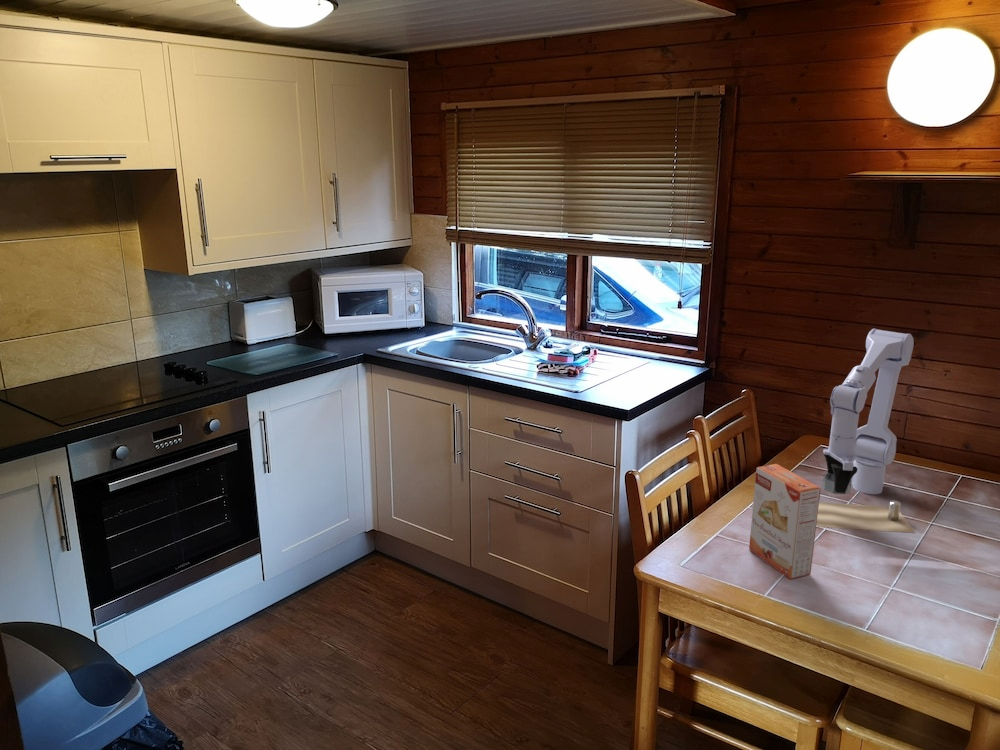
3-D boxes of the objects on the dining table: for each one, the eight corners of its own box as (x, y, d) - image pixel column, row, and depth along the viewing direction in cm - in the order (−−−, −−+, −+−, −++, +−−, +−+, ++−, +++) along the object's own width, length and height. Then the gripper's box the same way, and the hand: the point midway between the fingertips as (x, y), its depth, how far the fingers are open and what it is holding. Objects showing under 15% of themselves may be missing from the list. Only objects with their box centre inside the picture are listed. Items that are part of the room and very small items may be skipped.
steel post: (886, 516, 192) (888, 500, 190) (896, 517, 191) (899, 500, 190) (889, 521, 189) (892, 505, 188) (900, 522, 188) (902, 505, 187)
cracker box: (747, 550, 178) (755, 465, 172) (768, 545, 180) (777, 462, 174) (788, 580, 165) (799, 490, 160) (811, 575, 167) (822, 486, 162)
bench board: (805, 505, 200) (805, 501, 200) (896, 511, 197) (896, 507, 196) (817, 530, 187) (818, 526, 187) (915, 537, 183) (915, 533, 183)
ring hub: (820, 483, 194) (821, 472, 193) (845, 484, 193) (847, 473, 192) (826, 493, 188) (827, 481, 187) (852, 494, 187) (853, 483, 186)
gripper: (819, 423, 194) (813, 473, 198) (833, 444, 180) (826, 497, 184) (848, 425, 193) (842, 475, 197) (865, 446, 179) (858, 499, 183)
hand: (836, 486), depth 190 cm, fingers closed on ring hub, 6 cm apart
